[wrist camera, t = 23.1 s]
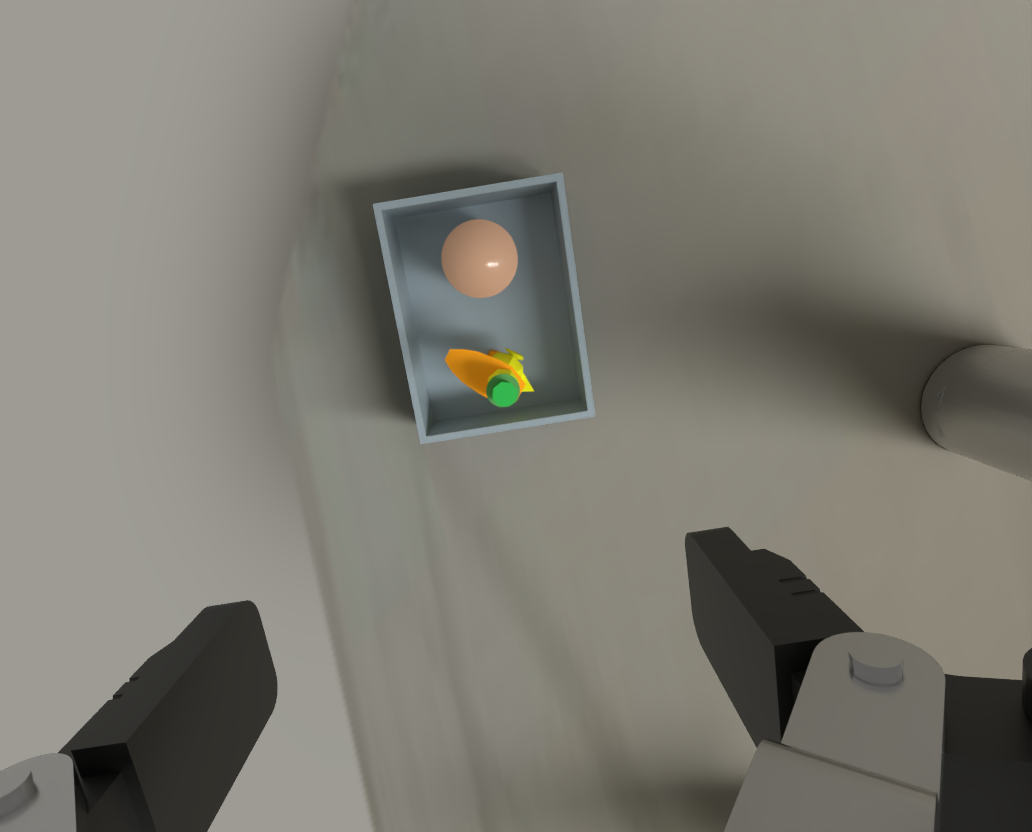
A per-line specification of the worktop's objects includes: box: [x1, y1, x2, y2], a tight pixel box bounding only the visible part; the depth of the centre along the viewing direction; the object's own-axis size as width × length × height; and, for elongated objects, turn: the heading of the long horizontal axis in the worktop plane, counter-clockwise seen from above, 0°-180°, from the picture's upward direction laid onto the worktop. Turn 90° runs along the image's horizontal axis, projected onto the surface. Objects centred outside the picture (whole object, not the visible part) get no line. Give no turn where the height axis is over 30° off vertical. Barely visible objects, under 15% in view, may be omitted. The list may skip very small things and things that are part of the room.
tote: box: [373, 172, 595, 444], centre depth 45 cm, size 13×17×6 cm
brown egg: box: [441, 219, 518, 298], centre depth 43 cm, size 5×5×7 cm
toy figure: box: [445, 348, 534, 407], centre depth 42 cm, size 7×4×12 cm, turn 62°
